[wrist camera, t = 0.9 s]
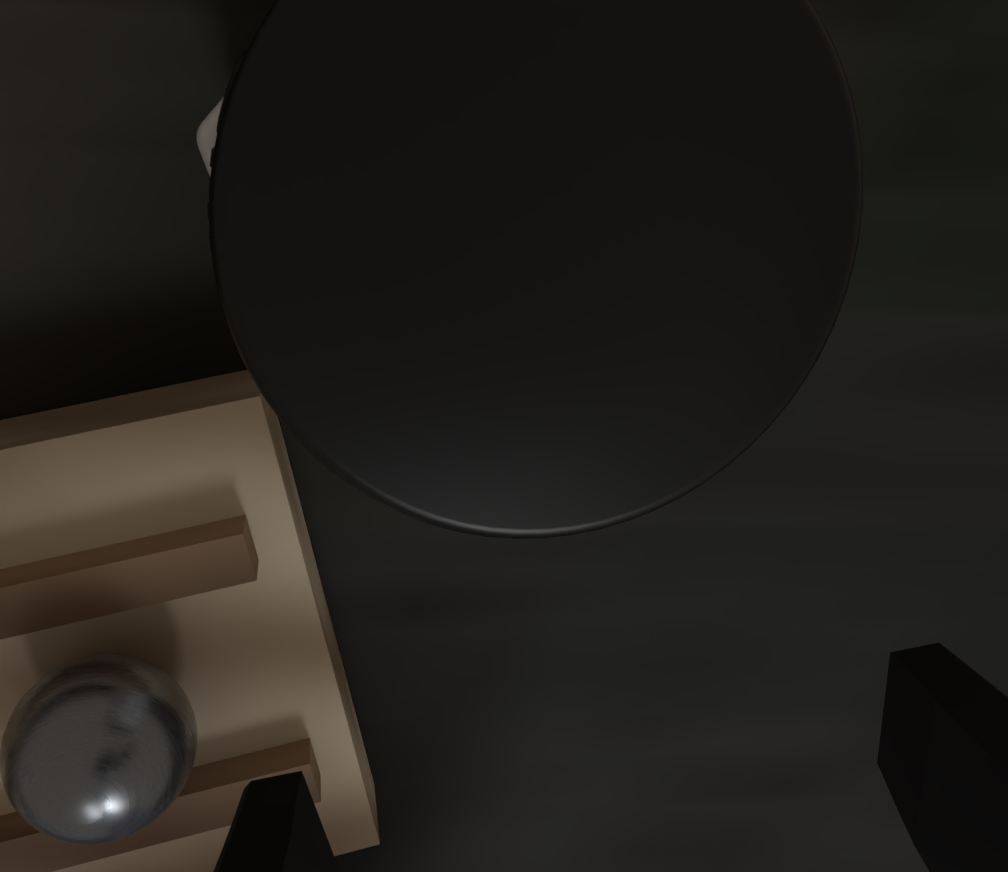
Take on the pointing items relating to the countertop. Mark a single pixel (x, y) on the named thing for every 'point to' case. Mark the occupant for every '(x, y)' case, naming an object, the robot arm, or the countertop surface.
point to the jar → (532, 243)
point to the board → (178, 607)
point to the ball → (98, 748)
